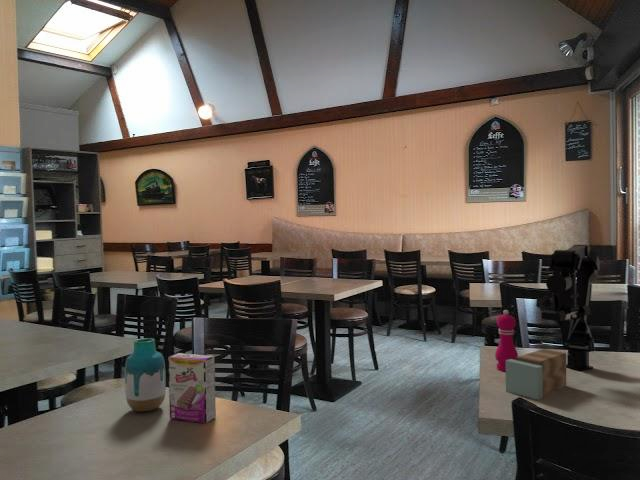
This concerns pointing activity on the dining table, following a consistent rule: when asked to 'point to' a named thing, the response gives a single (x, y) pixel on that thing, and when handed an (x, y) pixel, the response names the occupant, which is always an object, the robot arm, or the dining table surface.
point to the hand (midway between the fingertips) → (566, 339)
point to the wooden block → (548, 367)
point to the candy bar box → (192, 387)
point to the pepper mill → (505, 340)
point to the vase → (145, 376)
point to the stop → (524, 379)
